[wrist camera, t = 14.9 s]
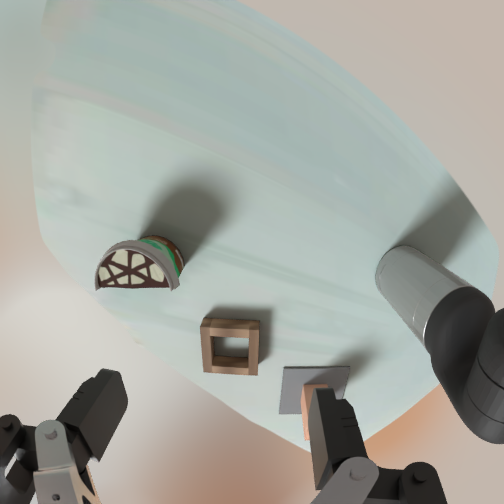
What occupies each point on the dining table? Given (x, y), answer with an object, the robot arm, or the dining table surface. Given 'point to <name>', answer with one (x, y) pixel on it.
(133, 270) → the food container
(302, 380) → the rubber mat
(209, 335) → the walnut pocket
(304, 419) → the terracotta block
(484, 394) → the robot arm
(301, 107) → the dining table surface
